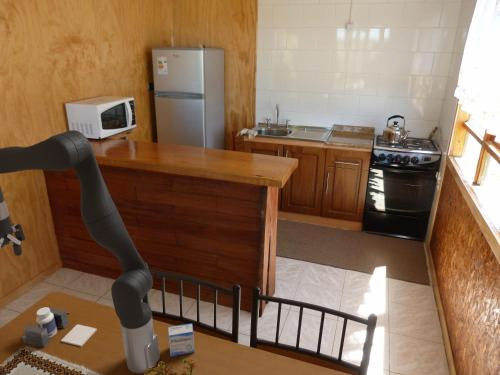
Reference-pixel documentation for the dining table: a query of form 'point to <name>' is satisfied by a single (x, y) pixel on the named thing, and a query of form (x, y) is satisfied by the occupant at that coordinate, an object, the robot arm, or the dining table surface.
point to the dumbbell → (44, 329)
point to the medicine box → (181, 339)
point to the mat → (79, 335)
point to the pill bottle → (46, 321)
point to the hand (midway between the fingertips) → (7, 261)
